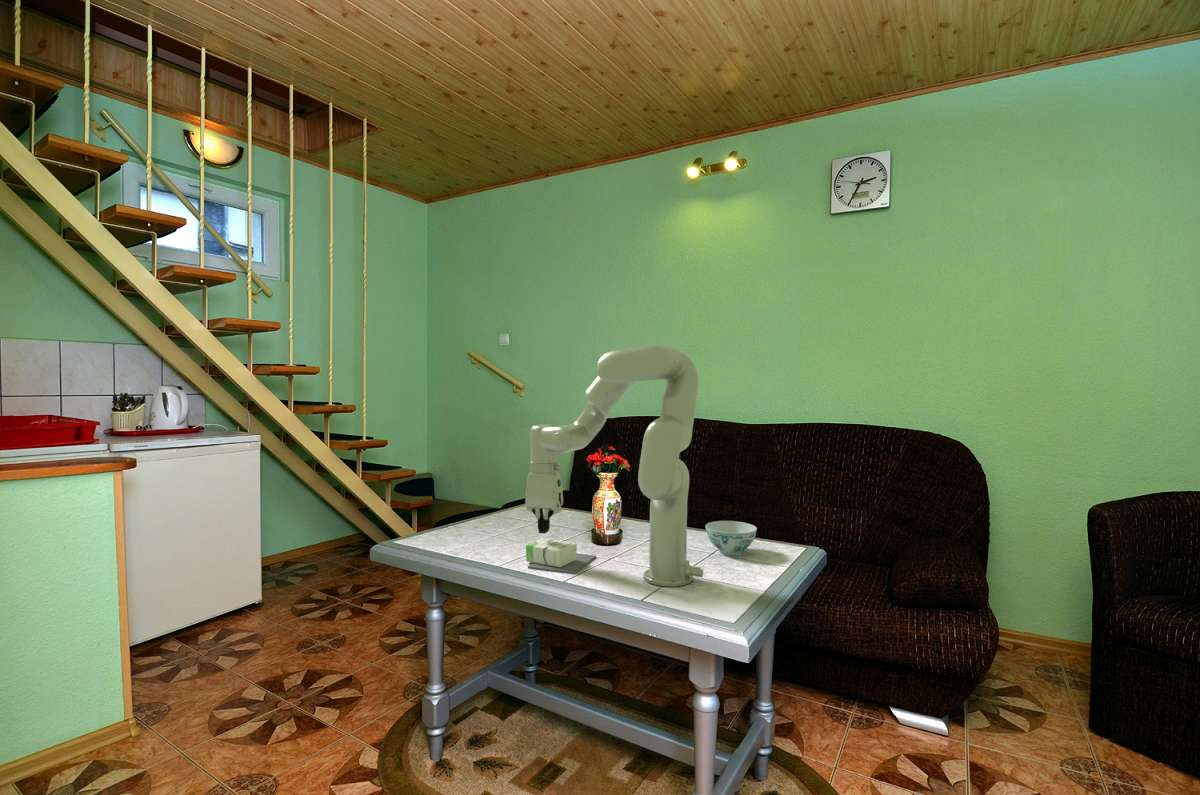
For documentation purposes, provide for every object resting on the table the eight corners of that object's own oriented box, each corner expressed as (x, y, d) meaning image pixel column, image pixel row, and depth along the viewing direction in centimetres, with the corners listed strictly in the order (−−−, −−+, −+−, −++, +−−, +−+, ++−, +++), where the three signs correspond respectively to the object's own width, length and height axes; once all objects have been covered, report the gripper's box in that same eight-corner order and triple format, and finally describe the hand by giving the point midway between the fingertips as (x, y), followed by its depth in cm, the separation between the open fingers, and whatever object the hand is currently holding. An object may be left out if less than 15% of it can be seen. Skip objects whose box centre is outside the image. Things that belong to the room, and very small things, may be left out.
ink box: (525, 562, 164) (560, 568, 158) (525, 544, 164) (560, 550, 158) (543, 554, 172) (577, 560, 166) (543, 537, 172) (577, 542, 166)
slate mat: (596, 557, 170) (596, 555, 170) (574, 574, 155) (574, 572, 155) (552, 552, 175) (552, 550, 175) (527, 568, 160) (527, 566, 160)
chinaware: (711, 560, 168) (711, 533, 168) (700, 545, 183) (700, 520, 183) (763, 559, 168) (763, 533, 168) (748, 545, 183) (748, 520, 183)
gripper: (573, 467, 168) (572, 531, 168) (526, 465, 173) (526, 526, 173) (562, 471, 161) (562, 538, 161) (514, 468, 166) (514, 533, 166)
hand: (543, 532), depth 167 cm, fingers closed
